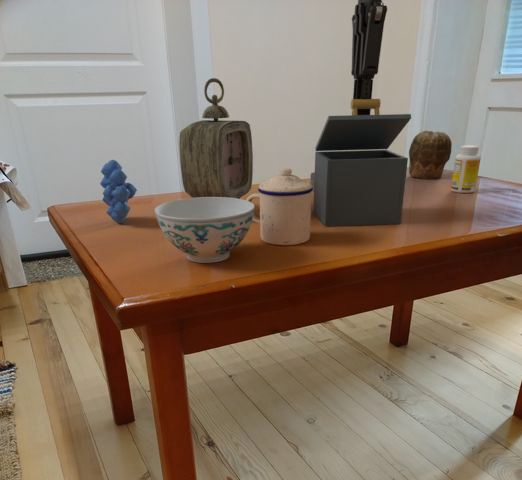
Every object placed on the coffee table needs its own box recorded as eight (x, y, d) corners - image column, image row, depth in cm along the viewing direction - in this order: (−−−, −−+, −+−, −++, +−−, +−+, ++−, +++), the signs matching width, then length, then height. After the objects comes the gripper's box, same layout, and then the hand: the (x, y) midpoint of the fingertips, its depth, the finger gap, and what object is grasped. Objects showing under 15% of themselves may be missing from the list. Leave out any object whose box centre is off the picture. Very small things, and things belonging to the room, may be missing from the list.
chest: (400, 223, 96) (408, 158, 91) (324, 226, 95) (327, 160, 90) (381, 209, 108) (387, 149, 102) (313, 211, 107) (315, 151, 101)
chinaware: (231, 238, 89) (229, 193, 86) (272, 261, 77) (272, 210, 74) (148, 251, 83) (142, 203, 79) (180, 278, 71) (174, 223, 68)
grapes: (150, 226, 98) (143, 160, 92) (116, 231, 95) (105, 163, 89) (132, 214, 107) (124, 154, 101) (99, 219, 104) (89, 156, 98)
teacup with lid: (318, 235, 90) (321, 166, 85) (299, 248, 83) (300, 174, 78) (258, 228, 95) (257, 162, 89) (235, 241, 88) (232, 170, 82)
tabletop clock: (221, 223, 98) (214, 77, 87) (182, 219, 102) (169, 78, 90) (253, 208, 110) (250, 77, 98) (217, 205, 113) (210, 78, 102)
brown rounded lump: (413, 181, 136) (418, 132, 131) (401, 174, 146) (406, 129, 141) (453, 180, 137) (460, 131, 131) (439, 173, 146) (445, 128, 141)
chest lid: (411, 118, 88) (409, 92, 88) (328, 120, 87) (327, 93, 88) (387, 149, 102) (386, 126, 102) (315, 151, 101) (314, 128, 101)
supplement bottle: (478, 190, 123) (486, 145, 118) (469, 194, 119) (477, 148, 115) (456, 188, 126) (462, 144, 122) (446, 191, 123) (453, 146, 118)
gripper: (340, -31, 89) (332, 117, 99) (361, -50, 76) (349, 122, 87) (382, -31, 89) (369, 117, 100) (410, -50, 76) (392, 121, 87)
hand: (360, 119), depth 93 cm, fingers closed
